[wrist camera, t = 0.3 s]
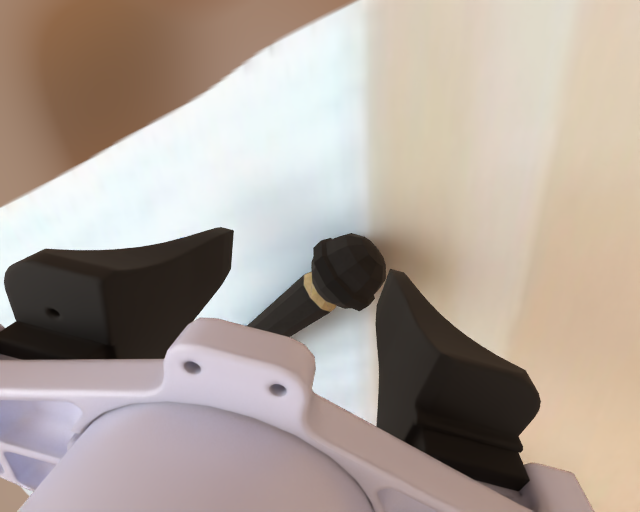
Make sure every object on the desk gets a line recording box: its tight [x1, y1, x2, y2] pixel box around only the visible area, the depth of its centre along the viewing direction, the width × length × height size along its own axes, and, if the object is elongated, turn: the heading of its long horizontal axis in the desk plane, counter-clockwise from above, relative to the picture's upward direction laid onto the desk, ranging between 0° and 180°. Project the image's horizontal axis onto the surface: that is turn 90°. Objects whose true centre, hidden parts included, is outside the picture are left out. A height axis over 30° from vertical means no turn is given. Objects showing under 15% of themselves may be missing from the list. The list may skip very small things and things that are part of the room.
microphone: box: [248, 233, 386, 337], centre depth 25 cm, size 6×6×20 cm
